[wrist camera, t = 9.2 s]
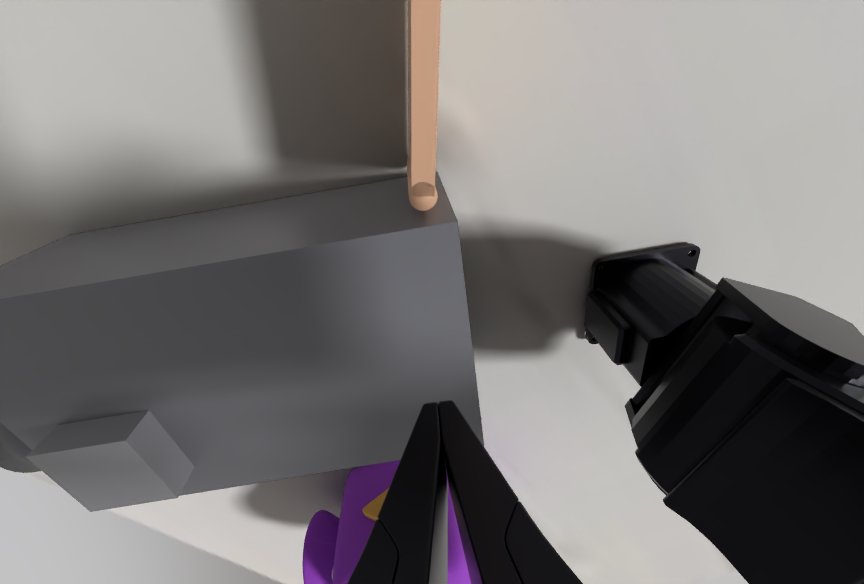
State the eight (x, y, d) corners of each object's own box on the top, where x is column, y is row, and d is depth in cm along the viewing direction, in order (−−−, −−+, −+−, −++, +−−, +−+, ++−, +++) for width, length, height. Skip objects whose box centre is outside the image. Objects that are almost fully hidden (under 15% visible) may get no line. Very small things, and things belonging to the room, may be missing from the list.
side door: (440, 172, 18) (456, 210, 13) (406, 172, 18) (408, 210, 12) (454, -216, 12) (500, -478, 6) (403, -221, 12) (405, -493, 6)
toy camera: (294, 476, 31) (252, 627, 22) (439, 427, 29) (454, 571, 20) (355, 533, 36) (340, 673, 28) (481, 494, 34) (507, 631, 26)
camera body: (437, 171, 19) (464, 237, 11) (461, 346, 25) (490, 474, 17) (15, 244, 19) (-275, 362, 11) (140, 399, 25) (15, 550, 17)
